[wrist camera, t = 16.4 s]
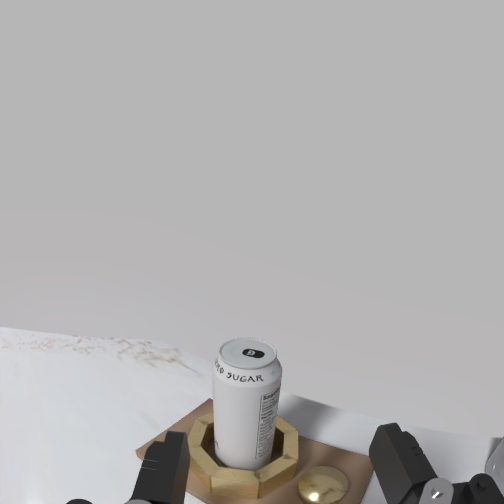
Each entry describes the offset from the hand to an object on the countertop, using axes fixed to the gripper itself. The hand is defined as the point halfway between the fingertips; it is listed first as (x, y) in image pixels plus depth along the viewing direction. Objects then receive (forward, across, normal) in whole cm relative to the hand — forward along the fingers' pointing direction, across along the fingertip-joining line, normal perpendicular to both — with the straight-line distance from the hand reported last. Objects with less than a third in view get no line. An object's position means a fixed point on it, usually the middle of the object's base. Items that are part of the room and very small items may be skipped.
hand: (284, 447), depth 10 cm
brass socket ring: (+13, -1, +19) cm, 23 cm away
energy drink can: (+13, +2, +19) cm, 23 cm away
